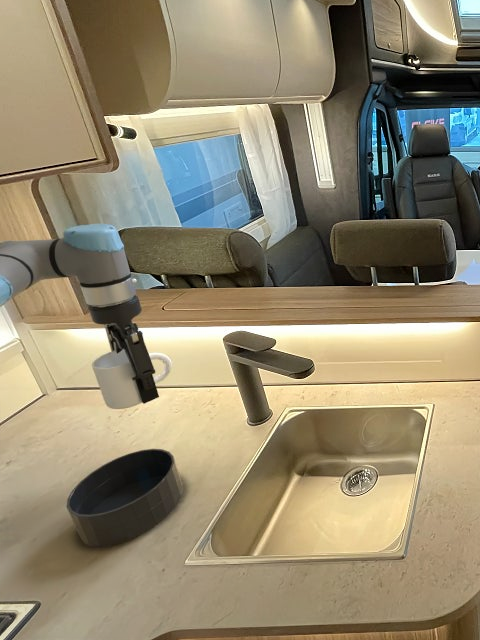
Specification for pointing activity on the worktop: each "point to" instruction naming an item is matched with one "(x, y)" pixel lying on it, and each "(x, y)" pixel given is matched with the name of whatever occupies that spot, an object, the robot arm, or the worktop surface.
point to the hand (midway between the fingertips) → (142, 392)
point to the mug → (122, 378)
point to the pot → (125, 497)
